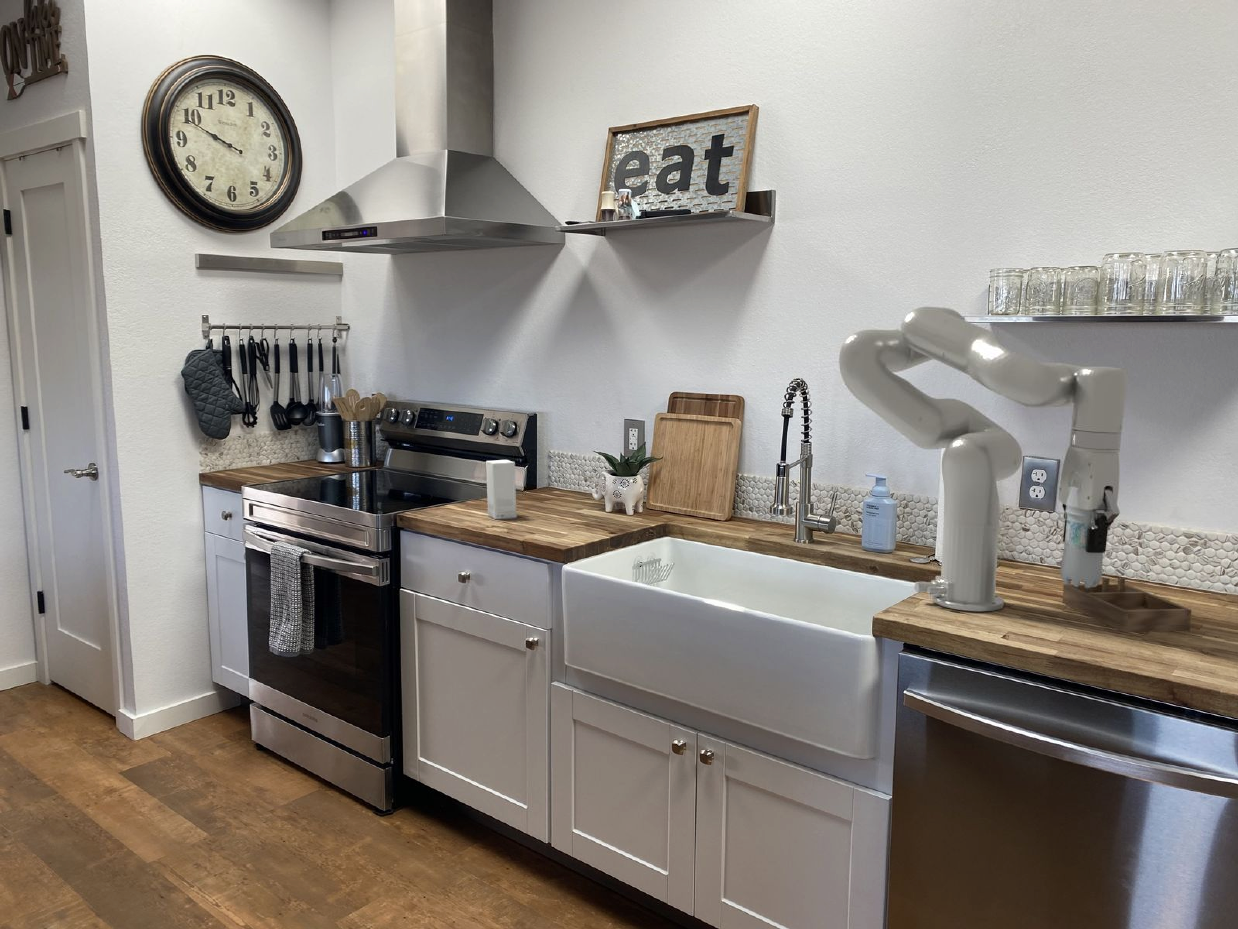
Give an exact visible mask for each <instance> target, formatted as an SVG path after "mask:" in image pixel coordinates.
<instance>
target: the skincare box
mask: <svg viewBox="0 0 1238 929" xmlns="http://www.w3.org/2000/svg"><path fill="white" fill-rule="evenodd" d="M485 465H486V466H485V470H486V474H485V475H486V494H487V499H486V500H487V516H488V517H491V518H492V519H494V520H507V519H508V520H509V519H510V520H511V519H517V518H518V517H517V493H516V492H517V491H516V490H517V489H516V462H515V461H511V460H509V459H499V460H498V459H497V460H486V461H485Z"/></svg>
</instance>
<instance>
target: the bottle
mask: <svg viewBox="0 0 1238 929" xmlns="http://www.w3.org/2000/svg"><path fill="white" fill-rule="evenodd" d="M1077 490H1078V489H1077V488H1075V487H1071V490H1070V493H1069V496H1068V499H1067V502H1066V507H1067V509H1066V513H1067V519H1066V520H1067V525H1066V535H1065V543H1064V544H1063V552H1062V558H1061V561H1060V562H1061V563H1060V577H1061V579H1062V581H1063V584H1067V585H1070V584H1073V585H1074V586H1075V587H1078V586H1079V584H1081V583H1083V584H1085V588H1090V587H1096V586H1097V585H1098V584H1100V582H1101V580H1102V574H1103V562H1104V561H1103V559H1104V558H1103V555H1104V553H1088V552H1086V550H1085V549H1086V540H1087V530H1088V528H1091V525H1090V512H1086V511H1082V510H1080V509H1079V508H1078V500H1077V493H1078V492H1077ZM1095 510H1105V506H1104V505H1099V507H1098V508H1097V509H1095ZM1102 515H1103V514H1097V520H1098V519H1099V518H1100V516H1102Z"/></svg>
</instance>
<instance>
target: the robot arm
mask: <svg viewBox="0 0 1238 929" xmlns="http://www.w3.org/2000/svg"><path fill="white" fill-rule="evenodd" d="M932 360H935V361H937V362H940V363H942V364H944V365H946V366H948V367H951V368H953V369H955V370H956V371H959V372H962V373H963V374H966V375H968V376H969V377H970V378H971V379H972V380H974V381H976V382H977V383H978V384H980V385H981V386H983V387H985V388H986V389H988V390H990V391H992V392H993V393H995V394H998V395H999V396H1001V397H1004V398H1006V399H1008V400H1011V401H1013V402H1015V403H1017V404H1019V405H1022V406H1025V407H1028V408H1032V409H1039V410H1040V409H1048V408H1061V407H1073V408H1072V418H1071V428H1070V436H1069V446H1068V447H1067V450H1066V451H1065V452H1066V453H1065V456H1064V460H1063V465H1062V470H1061V475H1060V482H1059V488H1058V501H1059V502H1060V503H1061V504H1062V506H1061V507H1062V509H1063V519H1064V524H1063V525H1064V527H1063V536H1062V542H1063V543H1064V544H1065V535H1066V525H1067V513H1066V509H1067V507H1066V502H1067V499H1068V496H1069V493H1070V490H1071V487H1075V488H1077V489H1078V490H1077V492H1078V493H1077V500H1078V508H1079V509H1080V510H1082V511H1086V512H1090V525H1091V528H1088V530H1087V540H1086V549H1085V550H1086V552H1088V553H1103V554H1104V553H1106V552H1107V551H1106V550H1107V542H1108V532H1109V530H1111V525H1112V524H1113V523H1114V521H1115V520H1116V519H1117V517H1119V515H1120V514H1121V512H1120V508H1119V507H1118V498H1119V488H1120V455H1119V454H1120V451H1121V450H1120V449H1121V441H1122V435H1123V433H1122V432H1123V424H1124V415H1125V405H1126V395H1127V387H1128V374H1127V371H1126V370H1124V369H1122V368H1120V367H1113V366H1081V365H1075V364H1069V363H1062V362H1054V363H1053V362H1039V361H1037V360H1034V359H1031V358H1029V357H1026V356H1024V355H1022V354H1019V353H1018V352H1014V351H1012V350H1010V349H1008V348H1006V347H1005V346H1003V345H1001V344H1000V343H999V342H998V340H997V336H996V335H995V333H994V332H992V331H991V330H989V329H986V328H983V327H981V326H978V325H976V324H974V323H971V322H968V321H966V320H965V319H964V317H963V315H961V314H960V313H959V312H958V311H956V310H954V309H952V308H947V307H938V306H937V307H936V306H920V307H917V308H915V309H914V308H913V310H911V311H909V313H907V314H906V315H905V317H904V318H903V320H902V323H901V324H900V327H899V328H896V329H863V330H860V331H857V332H854V333H853V334H851V335H850V336H848V337H847V338H846V339H845V340H844V341H843V343H842V345H841V347H840V350H839V356H838V365H839V371H840V375H841V378H842V381H843V382H844V384H845V386H846V388H847V389H848V391H849V392H850V393H851V394H852V395H853V396H854V397H855V398H856V399H857V400H858V401H859V402H860V403H862V405H864V406H865V407H867V408H868V409H869V410H871V411H872V412H873V413H875V414H876V415H877V416H878V417H880V418H882V419H883V421H885V422H886V423H887V424H889V426H891V427H892V428H893V429H894V430H895V431H897V432H898V433H900V434H901V435H903V437H905V438H906V439H907V440H909V441H910V442H911V443H913V445H915V446H917V447H919V448H921V449H923V450H940V449H944V451H943V454H942V457H941V472H942V473H941V474H942V482H943V492H944V493H943V494H944V495H943V496H944V498H943V499H944V501H943V504H944V505H943V528H942V529H943V531H942V548H941V551H942V552H941V553H942V554H941V567H940V568H941V572H940V575H935V579H932V580H931V581H927V582H926V581H915V583H914V590H915V592H916V593H927V594H928V595H931V596H930V597H931V598H930V599H931V601H932V602H933V604H936V605H938V606H941V607H944V608H948V609H952V610H956V611H957V610H958V611H965V612H993V611H998V610H1000V609H1002V608H1004V604H1005V602H1004V599H1003V597H1001V596H999V595H997V594H996V585H997V584H996V583H997V570H998V569H997V567H998V566H997V563H998V550H999V548H998V546H999V530H1000V529H999V528H1000V497H999V492H998V486H997V482H998V481H1003V480H1005V479H1008V478H1010V477H1012V476H1013V475H1015V473H1017V472H1018V470H1019V469H1020V467H1021V465H1022V461H1023V451H1022V450H1023V449H1022V447H1021V445H1020V443H1019V442H1018V440H1017V439H1016V438H1015V437H1014V436H1013V435H1012V434H1011V433H1010V432H1008V431H1007V430H1006V429H1004V428H1003V427H1002V426H1000V425H999V424H998V423H996V422H994V421H993V420H992V419H990V418H989V417H987V416H986V415H985V414H983V413H982V412H981V411H979V410H977V409H976V408H975V407H973V406H972V405H970V404H968V403H967V402H965V401H962V400H960V399H956V398H936V397H935V398H934V397H932V396H930V395H928V394H926V393H925V392H923V391H921V390H920V389H919V388H917V387H916V386H915V385H913V384H912V383H911V382H909V381H908V380H907V379H904V378H903V377H901V376H899V375H897V374H896V373H899V372H902V371H903V372H904V371H906V370H909V369H911V368H915V367H916V366H919V365H922V364H924V363H926V362H930V361H932ZM1099 505H1104V506H1105V510H1095V509H1097V508H1098V507H1099ZM1097 514H1103V515H1102V516H1100V518H1099V519H1098V520H1097Z"/></svg>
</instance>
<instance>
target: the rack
mask: <svg viewBox="0 0 1238 929" xmlns="http://www.w3.org/2000/svg"><path fill="white" fill-rule="evenodd" d="M1101 580H1102V583H1099V584H1098V585H1097V586H1096V587H1090V588H1085V584H1084V583H1080V584H1079V586H1078V587H1075V586H1074V585H1073V583H1070V585H1067V584H1065V583H1063V588H1062V591H1063V592H1062V604H1064V605H1066V606H1068V607H1070V608H1072V609H1075V610H1076V611H1078V612H1080V613H1082V614H1085V615H1087V616H1089V617H1091V618H1093V619H1094V620H1098V621H1099V622H1101V623H1103V624H1105V625H1108V626H1109V627H1112V628H1114V629H1116V630H1118V631H1120V632H1122V633H1128V632H1129V633H1131V632H1135V633H1136V632H1169V631H1170V632H1171V631H1173V632H1174V631H1176V632H1178V631H1180V632H1181V631H1190V630H1191V622H1192V620H1191V619H1192V609H1190V608H1187V607H1185V606H1182V605H1181V604H1178V603H1175V602H1172V601H1170V600H1168V599H1165V598H1163V597H1160V596H1157V595H1155V594H1152V593H1149V592H1147V591H1145V590H1142V589H1139V588H1137V587H1135V586H1132V585H1131V584H1127V583H1126V578H1124V577H1117V583H1110V578H1108V577H1102V579H1101Z"/></svg>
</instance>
